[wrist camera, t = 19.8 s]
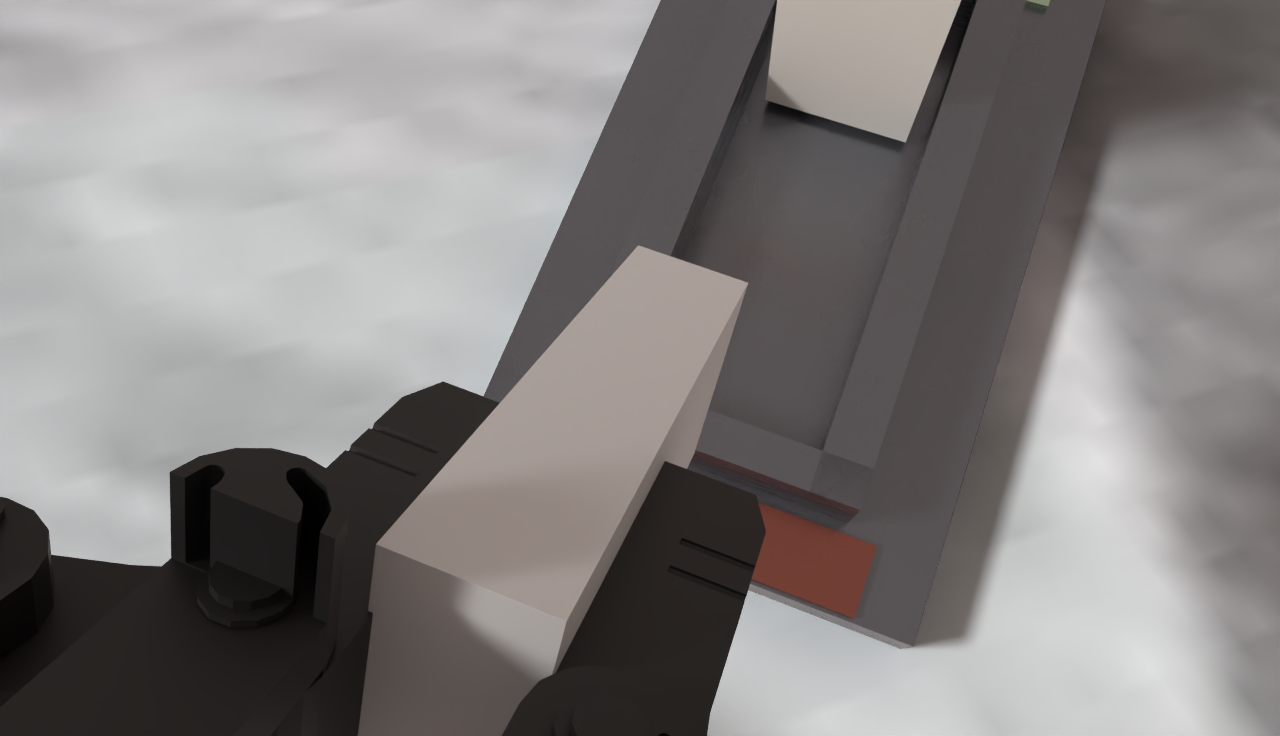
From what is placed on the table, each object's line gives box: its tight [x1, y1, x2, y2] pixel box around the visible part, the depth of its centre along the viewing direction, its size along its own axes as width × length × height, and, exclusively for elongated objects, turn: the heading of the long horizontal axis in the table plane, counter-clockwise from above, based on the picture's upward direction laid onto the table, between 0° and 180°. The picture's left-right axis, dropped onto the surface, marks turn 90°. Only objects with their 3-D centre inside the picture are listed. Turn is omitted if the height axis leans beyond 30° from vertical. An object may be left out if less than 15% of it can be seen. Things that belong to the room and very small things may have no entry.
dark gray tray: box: [484, 0, 1106, 649], centre depth 27 cm, size 20×12×4 cm, turn 159°
